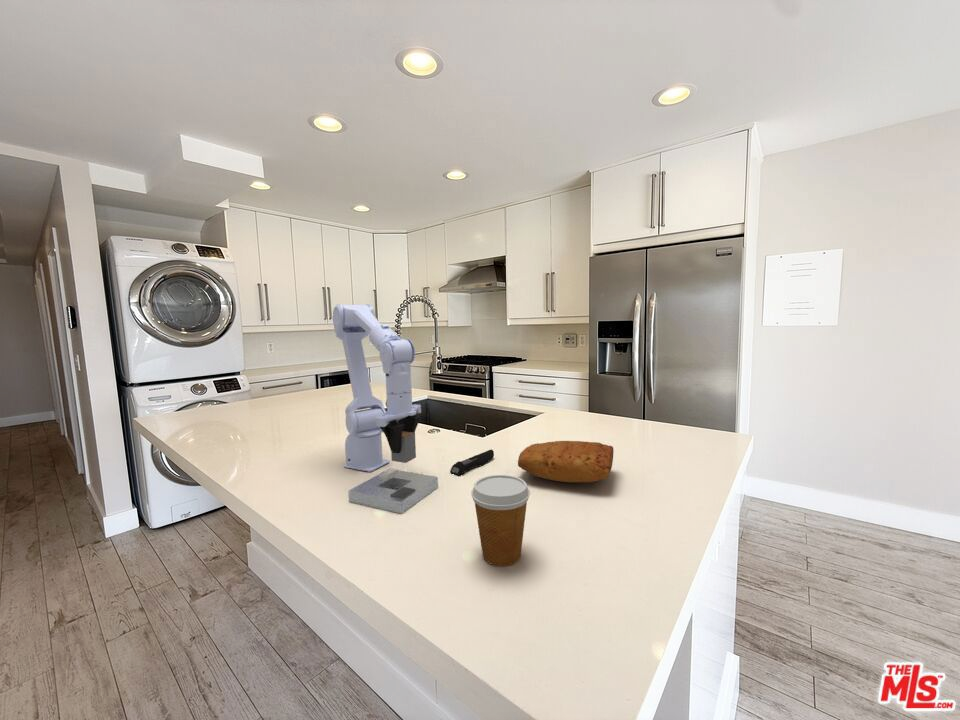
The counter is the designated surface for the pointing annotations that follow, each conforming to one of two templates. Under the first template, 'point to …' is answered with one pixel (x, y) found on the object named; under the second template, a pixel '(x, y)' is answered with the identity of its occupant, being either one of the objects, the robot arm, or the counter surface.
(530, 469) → the baked loaf
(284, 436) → the counter surface
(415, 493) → the socket plate
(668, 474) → the counter surface
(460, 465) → the electric trimmer
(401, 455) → the plug
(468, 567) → the counter surface
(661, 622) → the counter surface
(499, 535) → the disposable coffee cup
